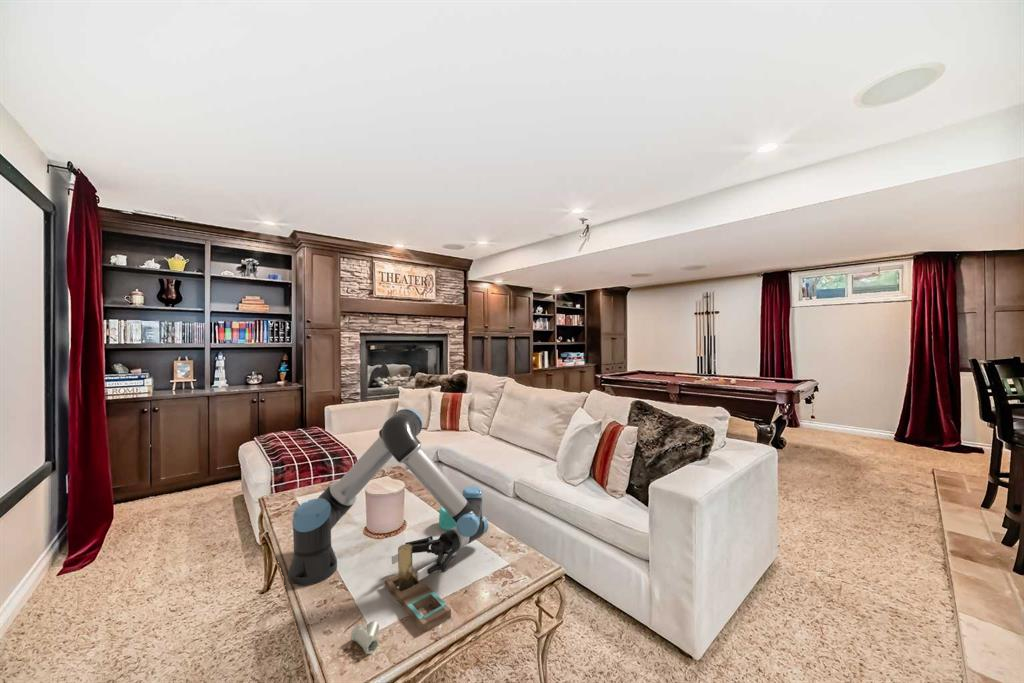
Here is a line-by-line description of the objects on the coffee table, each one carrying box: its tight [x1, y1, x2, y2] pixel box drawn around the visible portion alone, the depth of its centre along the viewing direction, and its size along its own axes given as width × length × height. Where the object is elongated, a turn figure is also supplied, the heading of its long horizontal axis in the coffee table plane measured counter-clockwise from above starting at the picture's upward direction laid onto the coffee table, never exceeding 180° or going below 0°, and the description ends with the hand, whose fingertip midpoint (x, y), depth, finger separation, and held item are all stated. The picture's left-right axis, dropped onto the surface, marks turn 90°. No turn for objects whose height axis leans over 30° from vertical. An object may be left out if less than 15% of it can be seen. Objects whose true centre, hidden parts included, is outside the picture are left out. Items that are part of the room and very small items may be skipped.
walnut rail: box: [384, 571, 452, 634], centre depth 123 cm, size 26×9×3 cm, turn 41°
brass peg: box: [397, 543, 414, 591], centre depth 128 cm, size 4×4×14 cm
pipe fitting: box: [350, 621, 380, 655], centre depth 108 cm, size 8×4×7 cm
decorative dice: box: [438, 506, 457, 531], centre depth 170 cm, size 8×8×8 cm
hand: (404, 567), depth 128 cm, fingers open, 13 cm apart
